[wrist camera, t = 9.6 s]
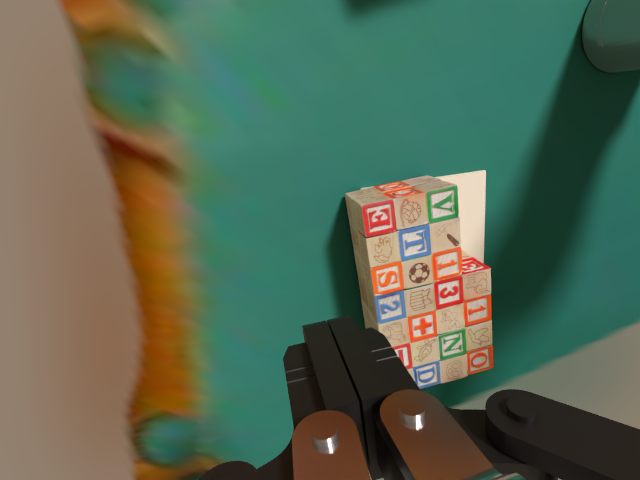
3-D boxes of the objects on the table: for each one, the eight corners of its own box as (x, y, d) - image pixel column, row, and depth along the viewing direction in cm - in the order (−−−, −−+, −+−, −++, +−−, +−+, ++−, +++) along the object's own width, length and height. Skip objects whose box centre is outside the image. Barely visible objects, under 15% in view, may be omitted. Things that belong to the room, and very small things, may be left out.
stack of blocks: (359, 205, 33) (488, 175, 35) (342, 192, 39) (453, 168, 40) (389, 400, 40) (496, 368, 41) (371, 364, 46) (465, 338, 47)
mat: (483, 170, 41) (486, 170, 41) (479, 356, 49) (481, 357, 49) (360, 188, 40) (361, 189, 39) (375, 378, 47) (376, 381, 47)
